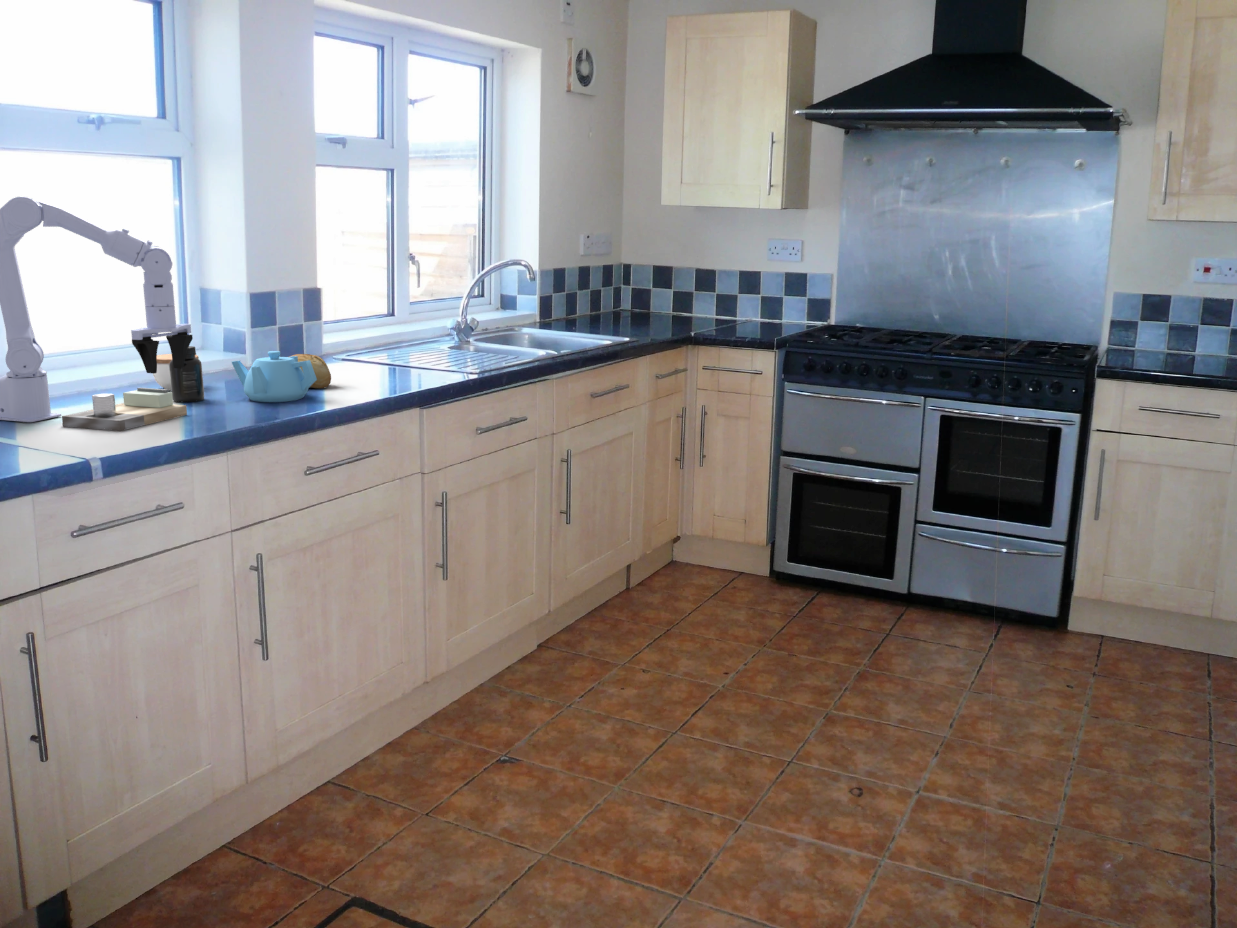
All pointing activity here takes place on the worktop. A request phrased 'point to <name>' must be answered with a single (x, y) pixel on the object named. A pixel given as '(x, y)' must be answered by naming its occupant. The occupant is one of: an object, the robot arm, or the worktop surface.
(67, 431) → the worktop surface
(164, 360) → the lidded jar
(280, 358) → the teapot
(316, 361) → the bread roll
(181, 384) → the supplement bottle
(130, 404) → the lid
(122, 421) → the housing
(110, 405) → the peg
